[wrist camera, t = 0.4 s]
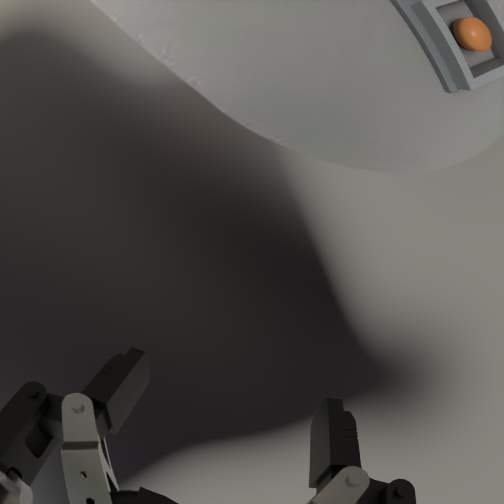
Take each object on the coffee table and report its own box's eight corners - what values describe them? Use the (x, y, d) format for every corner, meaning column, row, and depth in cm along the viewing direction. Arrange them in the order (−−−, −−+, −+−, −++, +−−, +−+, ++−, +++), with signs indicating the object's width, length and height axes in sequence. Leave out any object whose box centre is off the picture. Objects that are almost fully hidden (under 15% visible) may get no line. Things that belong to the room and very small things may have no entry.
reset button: (446, 23, 18) (457, 21, 15) (468, 15, 16) (479, 13, 13) (464, 54, 19) (475, 54, 17) (485, 46, 17) (496, 46, 15)
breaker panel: (377, -16, 18) (388, -28, 14) (451, -37, 12) (467, -46, 8) (445, 91, 24) (464, 97, 20) (508, 63, 18) (529, 66, 14)
